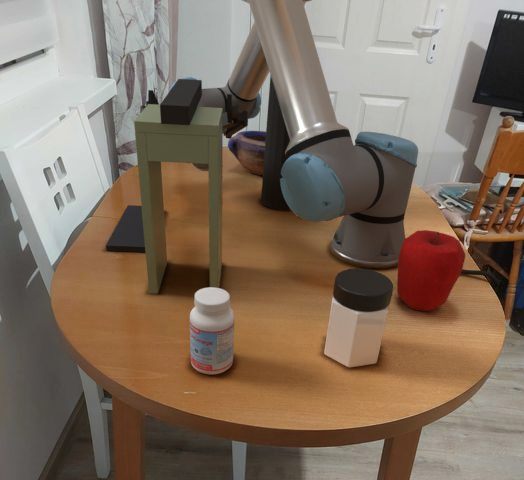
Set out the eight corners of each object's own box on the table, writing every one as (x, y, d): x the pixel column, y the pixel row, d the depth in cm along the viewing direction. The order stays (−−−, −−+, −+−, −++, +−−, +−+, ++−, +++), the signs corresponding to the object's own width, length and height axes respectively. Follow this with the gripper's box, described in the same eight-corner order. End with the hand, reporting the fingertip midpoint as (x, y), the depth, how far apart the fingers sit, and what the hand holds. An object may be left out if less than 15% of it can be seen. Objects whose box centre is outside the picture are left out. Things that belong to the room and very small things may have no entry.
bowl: (306, 170, 152) (310, 134, 146) (275, 185, 139) (277, 147, 133) (255, 158, 159) (256, 123, 153) (221, 171, 146) (221, 134, 141)
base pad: (128, 210, 120) (127, 205, 119) (162, 211, 120) (162, 206, 120) (106, 250, 102) (105, 245, 101) (147, 252, 102) (146, 247, 102)
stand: (159, 262, 99) (147, 103, 83) (221, 264, 100) (222, 107, 83) (149, 293, 90) (133, 121, 73) (218, 295, 90) (218, 125, 74)
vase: (309, 207, 127) (328, 72, 107) (272, 213, 123) (285, 74, 104) (289, 190, 134) (304, 60, 114) (254, 195, 130) (263, 62, 111)
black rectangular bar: (179, 94, 90) (178, 78, 89) (201, 95, 91) (201, 80, 89) (160, 123, 73) (159, 104, 71) (189, 125, 73) (189, 106, 71)
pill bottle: (182, 361, 74) (178, 293, 68) (214, 345, 78) (214, 279, 71) (209, 382, 71) (208, 312, 64) (242, 364, 75) (244, 296, 68)
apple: (378, 294, 94) (393, 222, 86) (425, 286, 97) (443, 217, 89) (411, 324, 86) (430, 249, 78) (461, 315, 89) (485, 242, 81)
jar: (390, 352, 79) (407, 283, 72) (360, 375, 74) (375, 303, 67) (343, 328, 84) (354, 261, 77) (311, 348, 79) (321, 278, 72)
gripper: (257, 158, 112) (260, 126, 90) (141, 153, 111) (117, 119, 90) (259, 122, 111) (262, 81, 90) (142, 116, 110) (117, 73, 89)
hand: (189, 100), depth 90 cm, fingers open, 13 cm apart
